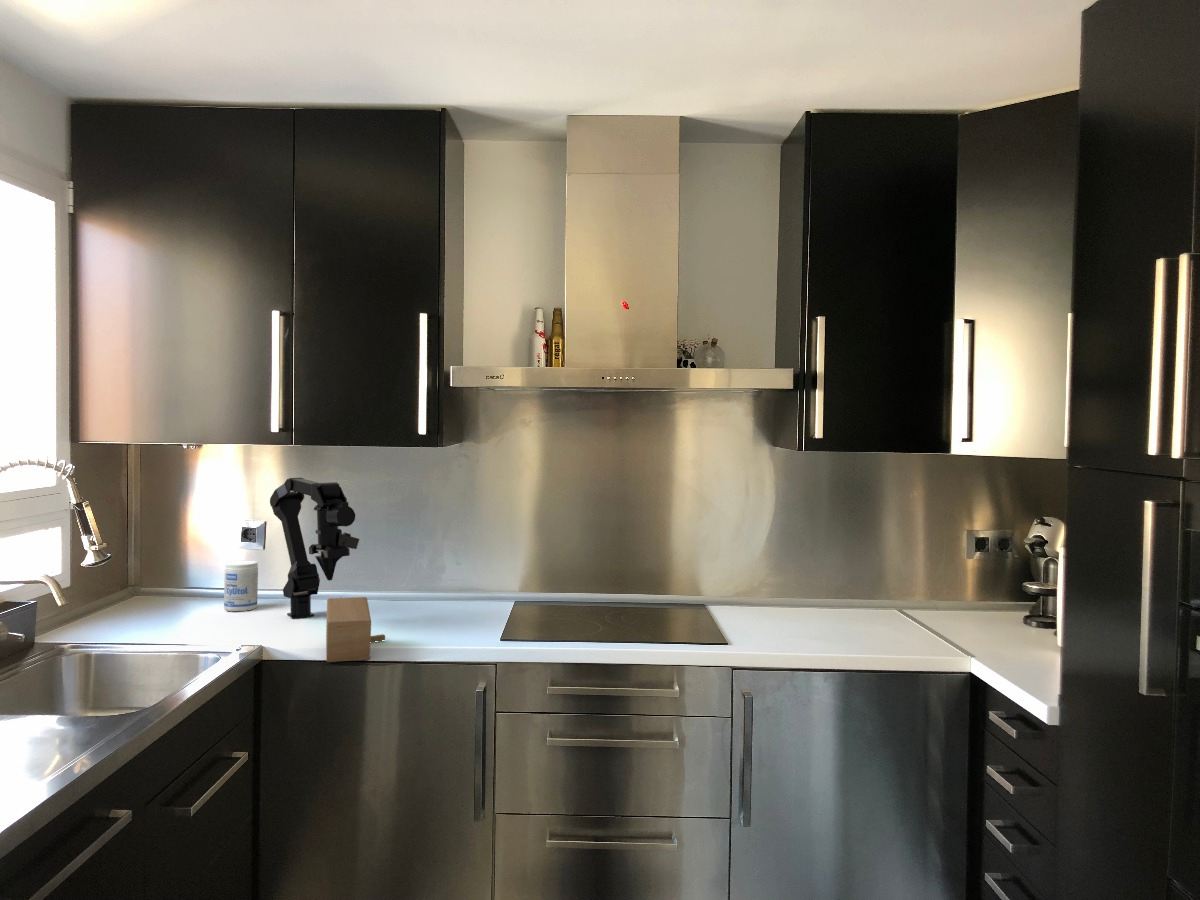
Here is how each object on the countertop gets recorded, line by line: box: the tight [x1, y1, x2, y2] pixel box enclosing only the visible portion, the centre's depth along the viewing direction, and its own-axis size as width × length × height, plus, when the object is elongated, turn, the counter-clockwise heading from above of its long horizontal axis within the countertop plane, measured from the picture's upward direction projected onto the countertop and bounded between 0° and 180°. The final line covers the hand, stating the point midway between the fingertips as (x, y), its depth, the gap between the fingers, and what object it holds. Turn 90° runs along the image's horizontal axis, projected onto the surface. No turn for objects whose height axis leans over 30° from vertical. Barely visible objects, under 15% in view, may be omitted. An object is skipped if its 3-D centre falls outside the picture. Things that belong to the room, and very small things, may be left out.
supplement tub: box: [223, 560, 259, 612], centre depth 243 cm, size 10×10×15 cm
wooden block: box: [325, 596, 372, 663], centre depth 195 cm, size 10×10×20 cm
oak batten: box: [371, 633, 386, 643], centre depth 203 cm, size 2×14×2 cm, turn 125°
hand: (329, 580), depth 223 cm, fingers closed
